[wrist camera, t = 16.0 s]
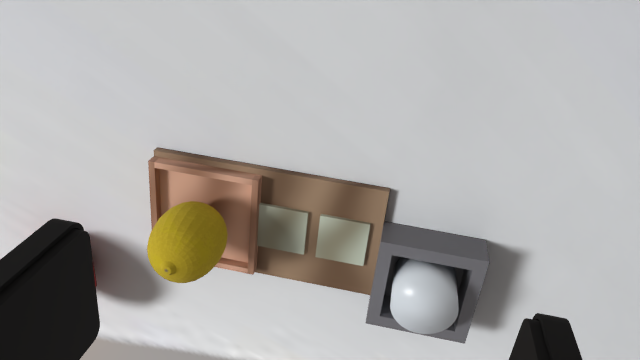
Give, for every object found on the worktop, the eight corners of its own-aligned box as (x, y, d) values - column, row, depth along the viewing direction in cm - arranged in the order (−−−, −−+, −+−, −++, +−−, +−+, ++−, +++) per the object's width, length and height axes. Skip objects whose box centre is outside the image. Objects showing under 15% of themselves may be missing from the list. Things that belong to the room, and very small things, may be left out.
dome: (462, 256, 42) (465, 288, 38) (448, 306, 44) (450, 340, 41) (399, 244, 42) (396, 274, 39) (388, 294, 45) (385, 326, 41)
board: (389, 188, 41) (388, 198, 40) (370, 290, 46) (369, 302, 44) (157, 147, 43) (148, 155, 42) (161, 249, 48) (153, 259, 46)
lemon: (253, 215, 44) (218, 272, 36) (216, 254, 46) (177, 315, 39) (199, 171, 43) (153, 222, 36) (164, 213, 45) (115, 269, 38)
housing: (485, 240, 42) (489, 262, 39) (462, 318, 45) (464, 343, 43) (383, 221, 42) (380, 241, 40) (369, 299, 46) (365, 323, 44)
